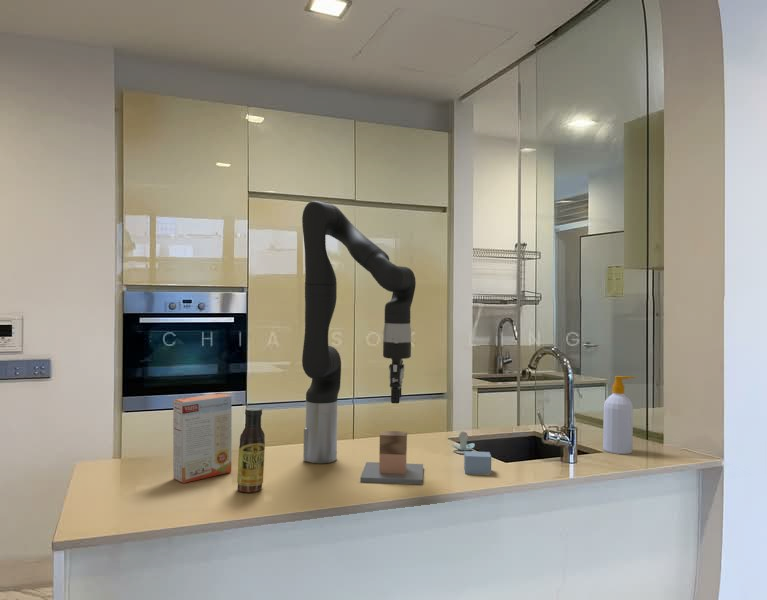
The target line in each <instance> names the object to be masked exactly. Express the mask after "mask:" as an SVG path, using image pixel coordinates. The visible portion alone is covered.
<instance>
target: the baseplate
mask: <svg viewBox="0 0 767 600" xmlns="http://www.w3.org/2000/svg"><path fill="white" fill-rule="evenodd" d="M407 452H408V450H407V451H406V455H396V454H380V453H379V461H378V462H377V461H376V462H375V461H374V462H373V461H365V465H364V467H363V470H362V472H361V475H360V481H359V482H360V483H372V484H373V483H377V484H395V483H396V484H397V485H398V484H399V485H400V484H401V485H403V484H404V485H420V484H422V485H423V480H424V478H423V477H424V476H423V475H424V464H423V463H408V462H407V458H408V457H407V456H408V455H407V454H408V453H407Z"/></svg>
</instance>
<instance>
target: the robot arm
mask: <svg viewBox="0 0 767 600" xmlns="http://www.w3.org/2000/svg"><path fill="white" fill-rule="evenodd" d="M301 221H302V222H301V223H302V224H301V226H302V236H303V244H304V267H305V268H304V271H305V272H304V274H305V275H304V276H305V278H304V337H303V338H304V339H303V347H302V357H301V365H302V370H303V371H304V373H305V375H307V376H308V378H309V379H311V383H310V386H309V388H308V389H307V391H306V393H305V427H304V428H303V459H302V460H303V462H307V463H312V464H327V463H328V464H329V463H333V462H335V461H336V460H337V459H338V396H339V393H340V390H341V379H342V378H341V375H342V361H341V360H342V359H341V355H340V353H339V351H338V349H336V348H335V347H334V346H332V345H329V330H330V325H331V321H332V319H333V316H334V312H335V310H336V309H335V308H336V304H337V290H338V289H337V287H338V286H337V285H338V284H337V282H338V281H337V277H336V276H337V275H336V273H335V269H334V267H333V265H332V263H331V261H330V259H329V256H328V252H327V248H326V247H327V245H326V243H327V242H326V238H327V237H326V236H330V237H332V238H333V239H335V240H338V241H339V242H340V243H342V244H343V245H344V246H345V248H346V249H347V251H348V253H349V254H350V255H351V257H352V259H353V260H354V261H356V263H358V265H360V266H361V267H362V268H364V269H365V270H366V271H367V272H369V273H370V274H371V276H372V278H373V279H374V280H375V281H376V282H377V284H378V285H379V286H380V287H382V288H383V289H384V290H385V291H387V292H391V293H392V294H391V299H390V300H389V301H388V302H386V303H385V305H384V326H383V333H382V334H383V338H382V357H383V358H385V359H390V360H391V363H390V364H389V365H388V371H389V374H388V375H389V376H388V379H389V387H390V403H392V404H399V403H400V402H401V400H400V399H401V397H402V386H403V385H402V384H403V379H404V375H405V372H404V371H405V364H403V363H404V360H403V359H405V360H407V359H410V358H411V357H412V328H411V327H412V326H411V307H412V303H413V300H414V295H415V290H416V283H417V281H416V276H415V273H414V271H413V270H412V269H411V268H410V267H407V266H401V265H396V264H394V263H392V262H391V261H390V256H389V255H388V254H387V253H386V252H385V251H384V250H383V249H381V248H380V247H379V246H378V245H377V244H375V243H374V242H373V241H372V240H370V239H369V238H368V237H366V236H365V235H364V234H363V233H362V232H360V231H359V229H357V227H355V225H354V224H353V223H352V222H351V221H350V219H348V217H346V215H345V214H344V213H343V212H342V211H341V210H340V209H339V207H338V206H336V205H334V204H331V203H327V202H323V201H319V200H312V201H309V202H308V203H307V204H306V205H305V207H304V208H303V211H302V217H301Z"/></svg>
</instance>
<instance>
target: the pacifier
mask: <svg viewBox="0 0 767 600" xmlns="http://www.w3.org/2000/svg"><path fill="white" fill-rule="evenodd" d="M458 434H459V435H458V439H459V446H458V445H455V444H451V446H452V447H453V448H455V449H456V450H455V451H454V452H455V454H459V455H460V454H462V455H464V451H471V452H476V450H475V449H474V448H475V446H476V445H475V443H473V442H472V443H468V442H467V441H468V439H469V435H468V433H467V432H466V431H460V433H458Z"/></svg>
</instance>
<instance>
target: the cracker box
mask: <svg viewBox="0 0 767 600" xmlns="http://www.w3.org/2000/svg"><path fill="white" fill-rule="evenodd" d="M232 398H233V397H232V395H229V394H225V393H217V394H215V393H214V394H206V395H197V396H190V397H184V398H177V399H175V398H174V399H173V402H172V403H173V407H172V409H173V410H172V411H173V415H172V416H173V418H172V419H173V420H172V423H173V425H172V426H173V428H172V429H173V430H172V433H173V435H172V436H173V448H172V449H173V451H172V454H173V463H172V464H173V467H172V469H173V476H172V477H173V479H174V480H176V481H177V482H179V483H182V484H186V483H191V482H194V481H200V480H202V479H208V478H211V477H212V478H213V477H216V476H220V475H225V474H229V473H231V472H232V440H233V439H232V435H233V434H232V424H233V423H232V419H233V418H232V415H233V414H232Z"/></svg>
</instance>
